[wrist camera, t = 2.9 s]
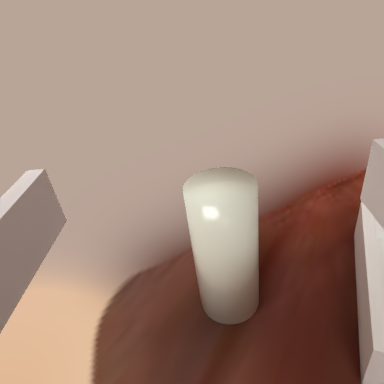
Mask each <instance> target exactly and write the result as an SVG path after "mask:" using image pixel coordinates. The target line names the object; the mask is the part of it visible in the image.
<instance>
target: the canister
mask: <svg viewBox="0 0 384 384" xmlns="http://www.w3.org/2000/svg"><path fill="white" fill-rule="evenodd" d="M183 196H184V202H185V208H186V214H187V219H188V225H189V232H190V238H191V244H192V250H193V256H194V262H195V268H196V274H197V280H198V286H199V292H200V298H201V304H202V307H203V310H204V311H205V313H206V314H207V315H208V316H209V317H210V318H211V319H213V320H214V321H216V322H219V323H222V324H229V325H231V324H239V323H242V322H244V321H246V320H248V319H249V318H251V317H252V316H253V315H254V313H255V312H256V310H257V308H258V305H259V248H258V182H257V180H256V178H255V177H254V176H253V175H251V174H250V173H248V172H246V171H244V170H241V169H236V168H227V167H223V168H222V167H221V168H213V169H208V170H205V171H201V172H199V173H197V174H195V175H193V176H192V177H190V178H189V179H188V180H187V181H186V183H185V184H184V186H183Z"/></svg>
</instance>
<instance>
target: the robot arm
mask: <svg viewBox="0 0 384 384" xmlns="http://www.w3.org/2000/svg"><path fill="white" fill-rule="evenodd" d="M360 199H361V201H362V202H363V203H364V205H365V206H366V207H367V209H368V210H369V211H370V212H371V214H372V215H373V216H374V218H375V219H376V220H377V222H378V223H379V224H380V226H381V227H382V228H383V230H384V138H383V139H373V142H372V147H371V151H370V156H369V161H368V166H367V170H366V174H365V179H364V183H363V188H362V193H361V197H360ZM65 223H66V218H65V216H64V214H63V212H62V209H61V207H60V204H59V202H58V200H57V197H56V195H55V192H54V190H53V187H52V185H51V183H50V180H49V178H48V175H47V173H46V171H45V169H37V170H27V171H26V172H25V173H24V174H23V175H22V176H21V177H20V178H19V179H18V180H17V182H16V183H15V184H14V185H13V186H12V187H11V188H10V189H9V190H8V191H7V192H6V193H5V194H4V195H3V196H2V197H1V198H0V333H1V331H2V329H3V328H4V326H5V324H6V323H7V321H8V319H9V317H10V316H11V314H12V312H13V311H14V309H15V307H16V306H17V304H18V302H19V301H20V299H21V297H22V295H23V294H24V292H25V290H26V289H27V287H28V285H29V284H30V282H31V280H32V279H33V277H34V275H35V273H36V272H37V270H38V268H39V267H40V265H41V263H42V262H43V260H44V258H45V257H46V255H47V253H48V251H49V250H50V248H51V246H52V244H53V243H54V241H55V240H56V238H57V236H58V234H59V233H60V231H61V229H62V228H63V226H64V224H65Z"/></svg>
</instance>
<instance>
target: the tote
mask: <svg viewBox="0 0 384 384" xmlns="http://www.w3.org/2000/svg"><path fill="white" fill-rule="evenodd" d="M354 248H355V269H356V289H357V310H358V331H359V352H360V373H361V384H384V230H383V228H382V227H381V226H380V224H379V223H378V222H377V220H376V219H375V218H374V216H373V215H372V214H371V212H370V211H369V210H368V209H367V207H366V206H365V205H364V203H363V202H361V204H360V209H359V214H358V218H357V223H356V228H355V233H354Z"/></svg>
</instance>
